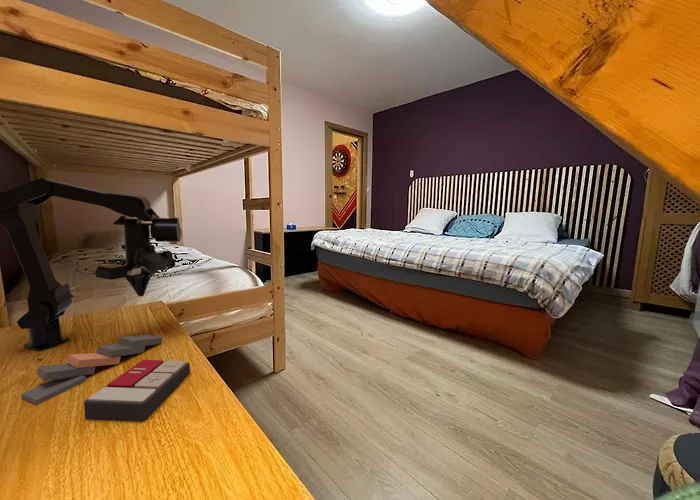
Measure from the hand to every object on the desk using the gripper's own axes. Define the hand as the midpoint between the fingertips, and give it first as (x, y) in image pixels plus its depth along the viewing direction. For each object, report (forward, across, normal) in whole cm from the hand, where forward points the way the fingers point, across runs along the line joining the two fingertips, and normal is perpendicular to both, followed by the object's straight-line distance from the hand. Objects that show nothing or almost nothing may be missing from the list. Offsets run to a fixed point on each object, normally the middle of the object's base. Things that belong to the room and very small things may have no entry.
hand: (140, 296), depth 83 cm
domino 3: (+11, -13, -7) cm, 18 cm away
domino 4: (+11, -7, -7) cm, 15 cm away
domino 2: (+11, -20, -7) cm, 24 cm away
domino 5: (+10, -2, -8) cm, 13 cm away
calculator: (+12, -19, -25) cm, 33 cm away
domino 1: (+11, -18, -7) cm, 22 cm away
